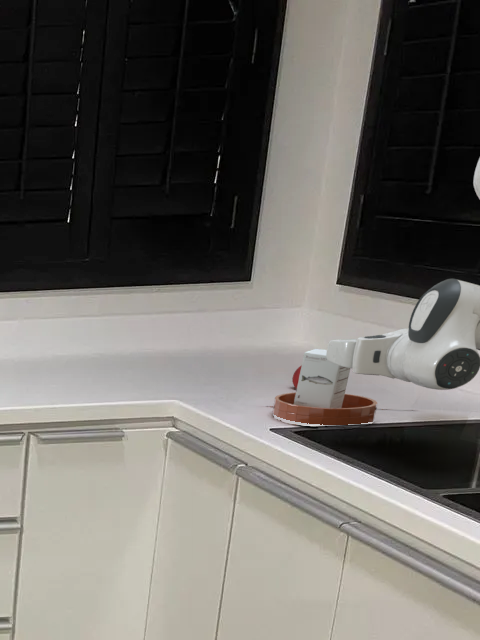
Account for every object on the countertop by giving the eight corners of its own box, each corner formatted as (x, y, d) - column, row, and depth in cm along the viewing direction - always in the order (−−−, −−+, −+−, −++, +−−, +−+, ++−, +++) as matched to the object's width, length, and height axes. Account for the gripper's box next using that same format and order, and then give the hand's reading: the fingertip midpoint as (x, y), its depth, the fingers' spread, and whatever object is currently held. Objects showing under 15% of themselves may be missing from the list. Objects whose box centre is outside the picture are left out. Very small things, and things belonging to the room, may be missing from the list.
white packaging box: (290, 413, 242) (302, 351, 237) (304, 408, 247) (316, 347, 242) (328, 419, 237) (341, 356, 232) (341, 413, 242) (355, 352, 237)
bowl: (379, 415, 242) (383, 396, 240) (366, 432, 228) (370, 411, 227) (282, 407, 252) (284, 389, 251) (263, 423, 238) (266, 404, 237)
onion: (321, 397, 262) (329, 361, 259) (294, 396, 263) (301, 361, 259) (313, 392, 267) (320, 356, 264) (286, 391, 268) (292, 356, 265)
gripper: (469, 334, 208) (426, 324, 221) (352, 338, 209) (315, 328, 222) (463, 369, 210) (420, 358, 223) (346, 374, 211) (310, 362, 224)
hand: (367, 343), depth 223 cm, fingers open, 8 cm apart
